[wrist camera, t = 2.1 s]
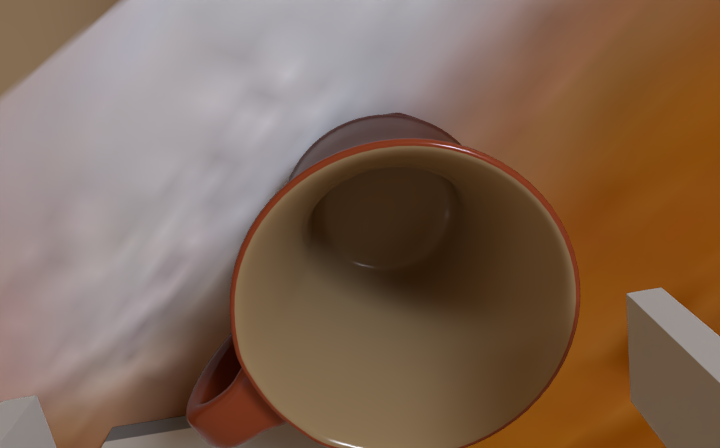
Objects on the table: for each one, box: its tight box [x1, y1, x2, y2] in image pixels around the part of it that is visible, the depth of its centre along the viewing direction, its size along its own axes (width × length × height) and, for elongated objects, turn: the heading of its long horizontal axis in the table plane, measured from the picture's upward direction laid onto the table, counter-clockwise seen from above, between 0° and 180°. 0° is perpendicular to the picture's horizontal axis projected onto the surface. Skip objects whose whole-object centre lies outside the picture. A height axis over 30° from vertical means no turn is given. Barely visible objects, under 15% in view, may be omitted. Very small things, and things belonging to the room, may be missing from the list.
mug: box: [186, 113, 580, 448], centre depth 21 cm, size 12×9×10 cm
